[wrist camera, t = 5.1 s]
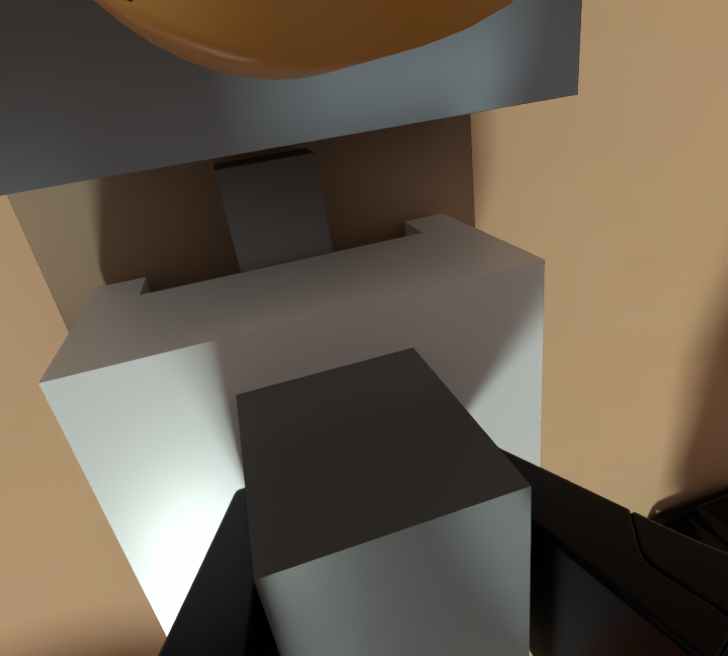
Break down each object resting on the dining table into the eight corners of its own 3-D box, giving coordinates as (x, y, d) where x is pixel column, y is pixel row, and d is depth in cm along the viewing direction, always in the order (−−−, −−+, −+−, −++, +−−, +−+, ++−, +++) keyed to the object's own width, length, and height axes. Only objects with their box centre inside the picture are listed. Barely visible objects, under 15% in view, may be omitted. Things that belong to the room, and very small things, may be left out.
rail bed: (469, 534, 20) (564, 689, 15) (217, 623, 18) (221, 838, 13) (426, -159, 11) (641, -421, 5) (-102, -128, 9) (-578, -487, 3)
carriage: (456, 412, 15) (665, 671, 8) (181, 495, 13) (153, 900, 6) (442, 213, 12) (735, 346, 5) (97, 287, 11) (-97, 603, 4)
